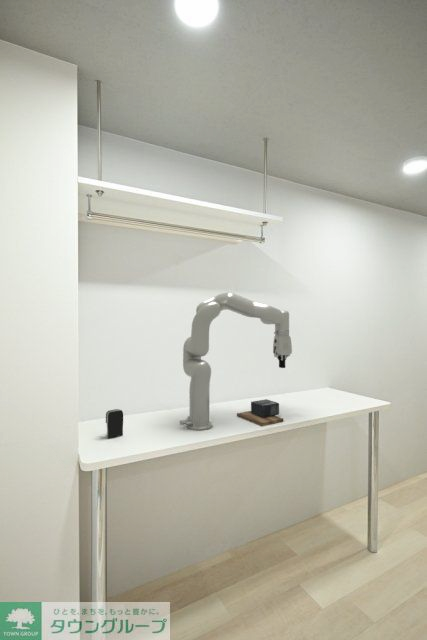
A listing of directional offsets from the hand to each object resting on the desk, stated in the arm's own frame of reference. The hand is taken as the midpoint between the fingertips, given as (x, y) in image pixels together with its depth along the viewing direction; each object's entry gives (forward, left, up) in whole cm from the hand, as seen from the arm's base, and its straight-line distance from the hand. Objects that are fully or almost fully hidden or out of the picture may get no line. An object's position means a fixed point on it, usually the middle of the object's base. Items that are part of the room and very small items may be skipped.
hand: (282, 367), depth 174 cm
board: (-16, 0, -25) cm, 30 cm away
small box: (-6, 0, -20) cm, 21 cm away
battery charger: (-86, +14, -25) cm, 91 cm away
